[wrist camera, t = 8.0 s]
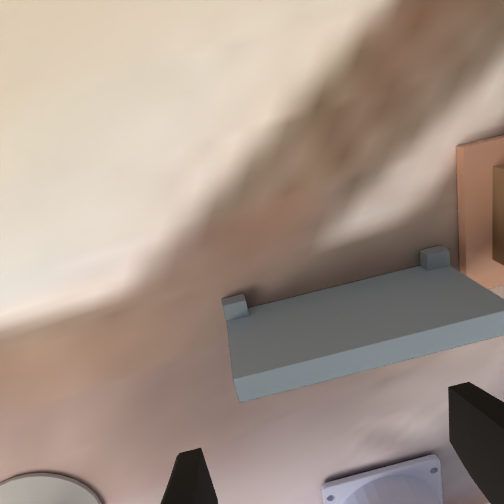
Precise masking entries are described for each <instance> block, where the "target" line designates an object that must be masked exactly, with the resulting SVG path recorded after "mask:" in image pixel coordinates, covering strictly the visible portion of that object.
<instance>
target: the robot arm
mask: <svg viewBox="0 0 504 504" xmlns="http://www.w3.org/2000/svg"><path fill="white" fill-rule="evenodd" d="M448 391H449V436H450V442H451V444H452V446H453V448H454V449H455V451H456V453H457V454H458V456H459V458H460V460H461V461H462V463H463V465H464V466H465V468H466V469H467V471H468V473H469V474H470V476H471V478H472V479H473V480H474V482H475V483H476V484H477V486H478V487H479V488H480V490H481V491H482V492H483V494H484V495H485V496H486V498H487V499H488V500H489V502H490V503H491V504H504V402H502V401H501V400H499V399H497V398H496V397H494V396H492V395H490V394H489V393H487V392H485V391H484V390H482V389H480V388H479V387H477V386H475V385H473V384H472V383H470V382H467V383H462V384H458V385H454V386H450V387H448ZM321 492H322V497H323V502H324V504H443V496H442V478H441V462H440V460H439V458H438V457H437V456H436V455H428V456H424V457H420V458H417V459H413V460H409V461H405V462H402V463H398V464H394V465H390V466H387V467H383V468H379V469H375V470H372V471H368V472H364V473H360V474H357V475H353V476H349V477H345V478H342V479H338V480H334V481H330V482H327V483H325V484H323V485H322V487H321ZM161 504H218V499H217V496H216V493H215V490H214V487H213V484H212V480H211V477H210V474H209V471H208V468H207V465H206V462H205V459H204V455H203V452H202V449H201V448H198V449H194V450H190V451H186V452H182V453H179V455H178V456H177V458H176V461H175V464H174V467H173V470H172V473H171V476H170V479H169V482H168V485H167V488H166V491H165V493H164V496H163V499H162V501H161Z"/></svg>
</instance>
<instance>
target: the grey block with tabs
mask: <svg viewBox="0 0 504 504" xmlns="http://www.w3.org/2000/svg"><path fill="white" fill-rule="evenodd" d="M419 252H420V266H416V267H412V268H408V269H404V270H400V271H396V272H392V273H388V274H384V275H380V276H376V277H372V278H368V279H364V280H360V281H356V282H352V283H348V284H344V285H340V286H336V287H332V288H328V289H324V290H320V291H316V292H312V293H307V294H303V295H299V296H295V297H291V298H287V299H283V300H279V301H275V302H271V303H267V304H263V305H259V306H255V307H251V308H247V304H246V300H245V296H244V294H240V295H236V296H232V297H228V298H224V299H222V307H223V310H224V314H225V318H226V321H227V330H228V339H229V348H230V357H231V366H232V375H233V382H234V385H235V389H236V392H237V396H238V399H239V403H242V402H246V401H249V400H253V399H257V398H261V397H265V396H269V395H273V394H277V393H281V392H284V391H288V390H292V389H296V388H300V387H304V386H308V385H312V384H316V383H320V382H323V381H327V380H331V379H335V378H339V377H343V376H347V375H351V374H355V373H359V372H362V371H366V370H370V369H374V368H378V367H382V366H386V365H390V364H394V363H397V362H401V361H405V360H409V359H413V358H417V357H421V356H425V355H429V354H433V353H436V352H440V351H444V350H448V349H452V348H456V347H460V346H464V345H468V344H471V343H475V342H479V341H483V340H487V339H491V338H495V337H499V336H503V335H504V299H502V298H501V297H499V296H498V295H496V294H494V293H493V292H491V291H490V290H488V289H487V288H485V287H483V286H482V285H480V284H479V283H477V282H475V281H474V280H472V279H471V278H469V277H467V276H466V275H464V274H463V273H461V272H460V271H458V270H456V269H455V268H453V267H452V266H450V250H449V249H447V248H446V247H444V246H442V245H439V246H434V247H430V248H426V249H422V250H419Z"/></svg>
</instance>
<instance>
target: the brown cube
mask: <svg viewBox="0 0 504 504" xmlns="http://www.w3.org/2000/svg"><path fill="white" fill-rule="evenodd" d="M492 260H494V261H496V262H498V263H500V264H502V265H504V164H502V165H498V166H493V205H492Z"/></svg>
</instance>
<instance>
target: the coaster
mask: <svg viewBox="0 0 504 504" xmlns="http://www.w3.org/2000/svg"><path fill="white" fill-rule="evenodd" d="M456 157H457V193H458V229H459V265H460V272H461V273H463V274H464V275H466V276H467V277H469V278H471V279H472V280H474V281H475V282H477V283H479V284H480V285H482V286H483V287H485V288H487V289H491V288H495V287H499V286H503V285H504V265H502V264H500V263H498V262H496V261H494V260H492V205H493V166H498V165H502V164H504V135H501V136H497V137H493V138H489V139H485V140H480V141H476V142H472V143H468V144H464V145H459V146H456Z"/></svg>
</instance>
